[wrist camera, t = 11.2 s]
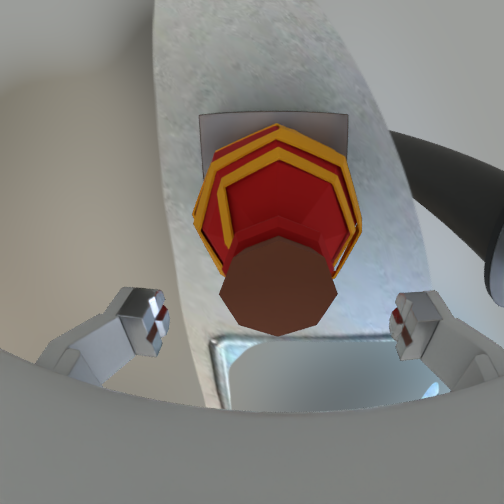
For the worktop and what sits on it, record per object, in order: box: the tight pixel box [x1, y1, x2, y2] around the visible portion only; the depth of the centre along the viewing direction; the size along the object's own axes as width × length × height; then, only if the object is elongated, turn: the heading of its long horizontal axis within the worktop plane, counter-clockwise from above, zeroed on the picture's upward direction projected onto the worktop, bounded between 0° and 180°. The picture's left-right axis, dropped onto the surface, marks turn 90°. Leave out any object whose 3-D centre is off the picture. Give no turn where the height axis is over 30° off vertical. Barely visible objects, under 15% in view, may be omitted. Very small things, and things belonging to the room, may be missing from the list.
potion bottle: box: [192, 123, 362, 336], centre depth 16 cm, size 10×10×15 cm
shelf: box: [199, 111, 348, 179], centre depth 26 cm, size 12×12×7 cm
